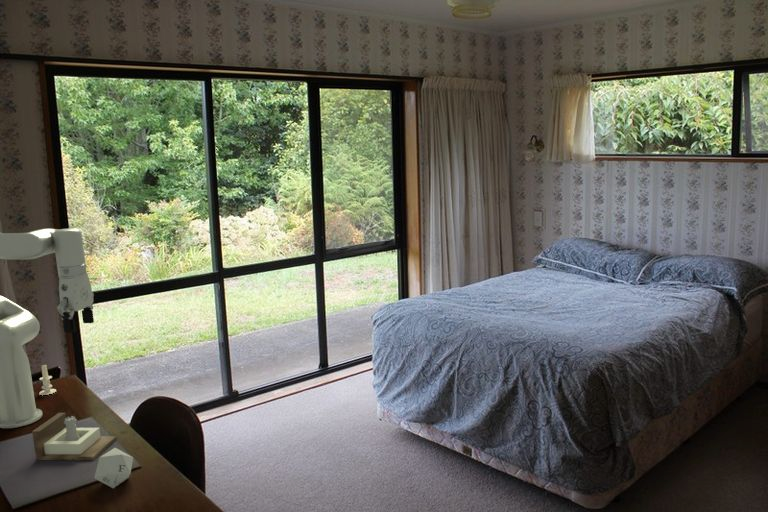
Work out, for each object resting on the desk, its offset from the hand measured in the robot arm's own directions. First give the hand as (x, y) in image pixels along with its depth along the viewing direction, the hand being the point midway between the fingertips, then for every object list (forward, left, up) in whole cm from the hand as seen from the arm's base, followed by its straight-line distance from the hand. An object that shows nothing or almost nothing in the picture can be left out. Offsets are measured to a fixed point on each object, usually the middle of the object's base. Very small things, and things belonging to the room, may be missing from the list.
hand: (79, 327), depth 195 cm
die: (+28, -38, -28) cm, 55 cm away
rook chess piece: (+7, -21, -28) cm, 35 cm away
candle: (-27, +20, -28) cm, 44 cm away
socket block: (+7, -21, -27) cm, 35 cm away
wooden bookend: (+8, -21, -28) cm, 36 cm away
